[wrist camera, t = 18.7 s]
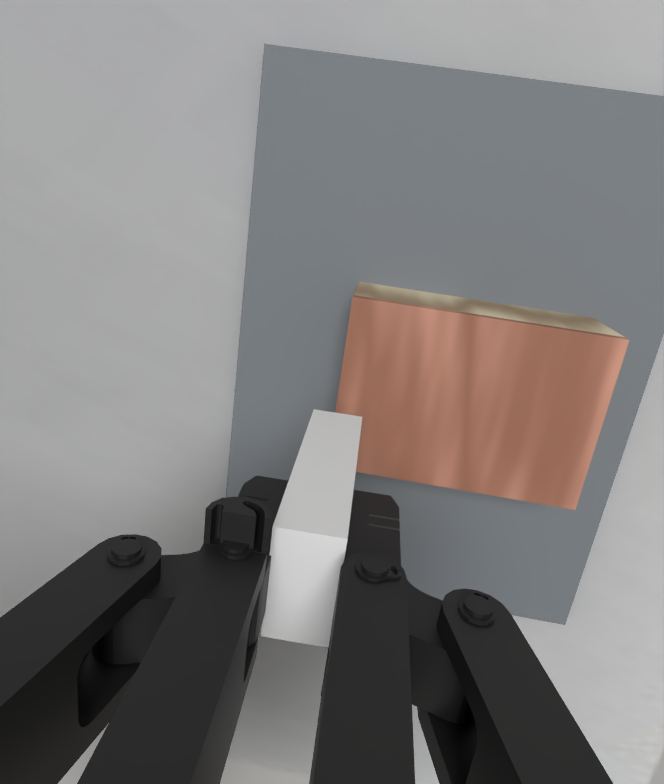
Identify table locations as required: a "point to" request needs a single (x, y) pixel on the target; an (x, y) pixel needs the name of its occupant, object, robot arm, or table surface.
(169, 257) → the table surface
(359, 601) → the robot arm
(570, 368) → the face block
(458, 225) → the mat
